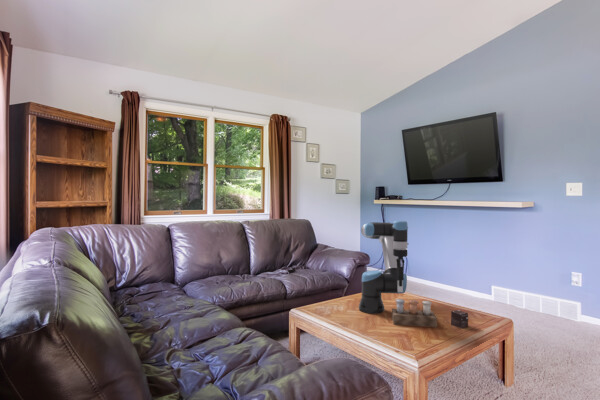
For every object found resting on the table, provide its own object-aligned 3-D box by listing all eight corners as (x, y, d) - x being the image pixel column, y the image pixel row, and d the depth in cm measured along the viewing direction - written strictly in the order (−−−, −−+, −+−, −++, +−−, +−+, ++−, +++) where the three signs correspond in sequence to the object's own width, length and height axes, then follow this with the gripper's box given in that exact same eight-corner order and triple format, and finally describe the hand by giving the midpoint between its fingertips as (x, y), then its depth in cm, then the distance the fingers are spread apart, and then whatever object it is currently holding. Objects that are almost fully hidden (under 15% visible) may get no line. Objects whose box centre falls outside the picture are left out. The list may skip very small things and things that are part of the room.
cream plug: (423, 316, 178) (423, 302, 178) (421, 314, 183) (421, 300, 183) (432, 317, 177) (432, 303, 177) (430, 314, 182) (430, 300, 182)
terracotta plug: (409, 316, 180) (409, 302, 180) (408, 313, 184) (408, 299, 184) (418, 316, 179) (418, 302, 179) (417, 313, 183) (417, 300, 183)
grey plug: (396, 315, 181) (396, 301, 181) (395, 312, 185) (395, 298, 185) (405, 315, 180) (405, 301, 180) (403, 312, 185) (404, 299, 185)
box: (460, 328, 172) (460, 314, 173) (450, 324, 178) (450, 311, 178) (468, 326, 175) (468, 312, 175) (458, 323, 181) (458, 309, 181)
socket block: (393, 324, 178) (393, 315, 178) (391, 317, 189) (391, 308, 189) (436, 327, 174) (436, 317, 174) (432, 320, 185) (432, 311, 185)
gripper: (409, 250, 176) (408, 295, 176) (405, 247, 189) (405, 289, 188) (394, 250, 177) (394, 294, 177) (392, 247, 190) (392, 288, 190)
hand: (400, 291), depth 183 cm, fingers closed
